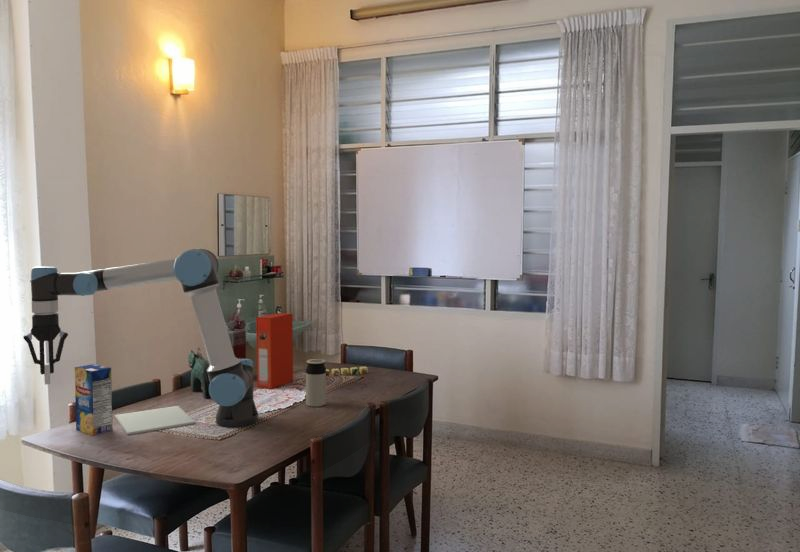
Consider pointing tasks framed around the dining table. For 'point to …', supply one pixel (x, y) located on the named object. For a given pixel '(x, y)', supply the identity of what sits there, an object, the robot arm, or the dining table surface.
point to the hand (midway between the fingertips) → (47, 383)
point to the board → (153, 420)
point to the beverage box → (93, 399)
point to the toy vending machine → (237, 340)
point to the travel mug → (315, 383)
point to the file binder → (274, 350)
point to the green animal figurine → (199, 373)
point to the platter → (347, 371)
